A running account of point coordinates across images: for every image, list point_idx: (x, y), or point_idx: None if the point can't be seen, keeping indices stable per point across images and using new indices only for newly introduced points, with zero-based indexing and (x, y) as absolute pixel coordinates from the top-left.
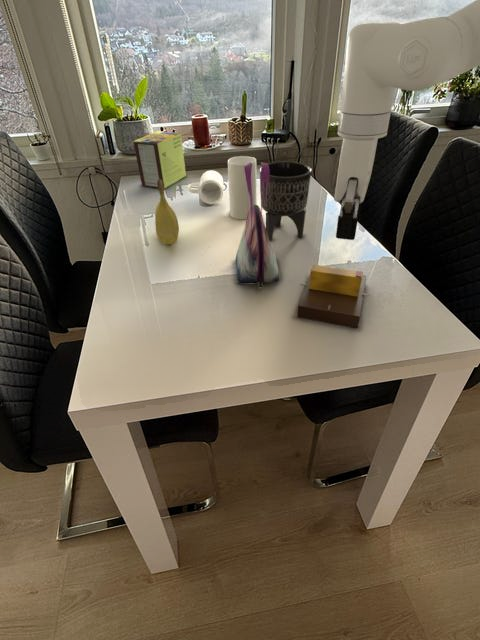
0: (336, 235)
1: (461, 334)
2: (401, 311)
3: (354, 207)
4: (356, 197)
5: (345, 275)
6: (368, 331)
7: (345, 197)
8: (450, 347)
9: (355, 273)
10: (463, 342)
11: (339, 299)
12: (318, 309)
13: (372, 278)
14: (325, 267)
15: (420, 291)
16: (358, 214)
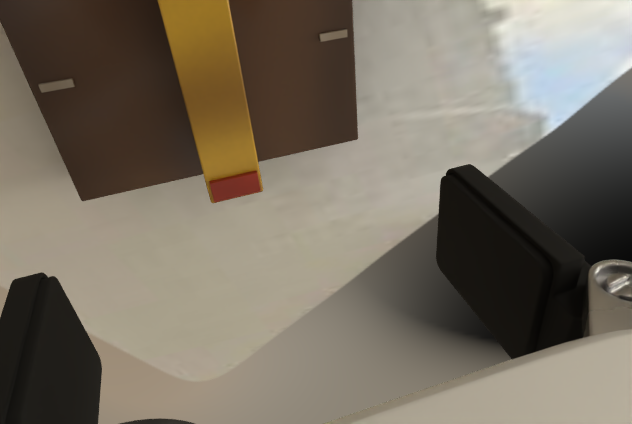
0: (9, 292)
1: (225, 361)
2: (253, 245)
3: (476, 277)
4: (533, 338)
5: (197, 140)
6: (96, 204)
7: (546, 258)
8: (161, 360)
9: (236, 171)
10: (196, 371)
11: (144, 102)
12: (12, 44)
13: (403, 126)
14: (222, 25)
15: (372, 255)
16: (447, 271)
